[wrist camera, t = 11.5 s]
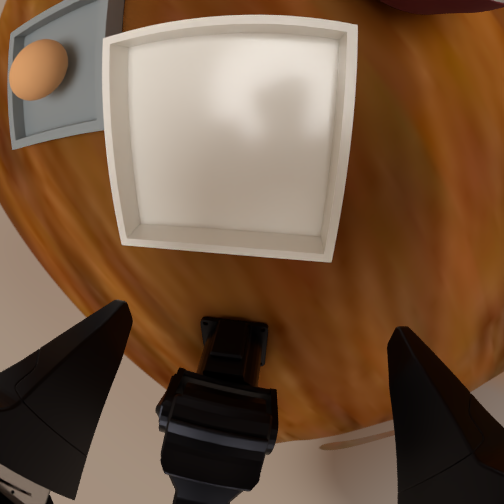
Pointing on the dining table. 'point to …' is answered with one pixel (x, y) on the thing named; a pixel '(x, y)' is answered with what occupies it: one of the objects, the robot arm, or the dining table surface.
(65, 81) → the tray
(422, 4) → the mug
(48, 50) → the ball
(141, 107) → the dish
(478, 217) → the dining table surface
